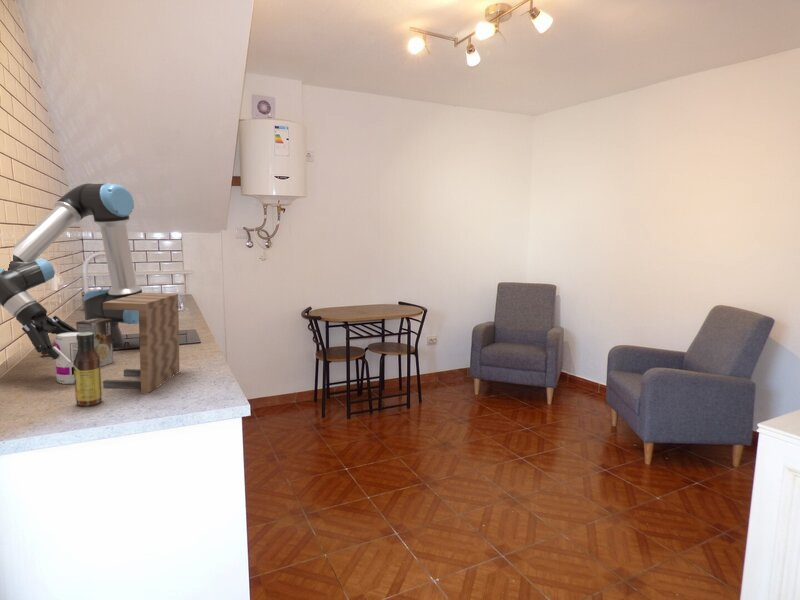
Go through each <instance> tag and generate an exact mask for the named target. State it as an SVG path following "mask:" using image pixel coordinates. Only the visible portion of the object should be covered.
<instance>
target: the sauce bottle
mask: <svg viewBox="0 0 800 600" xmlns="http://www.w3.org/2000/svg"><path fill="white" fill-rule="evenodd" d="M93 339H94V333H92V332H84V333H78V334H77V341H78V351H77V354H76V357H75V360H74V362H73V367H74V382H75V384H74V395H75V401H76V404H77V406H79V405H80V406H82V407H90V406H89V405H92V406H95V405H98V404H100V403H101V402H102V399H103V398H102V396H103V388H102V387H103V384H102V372H101V371H102V370H101V367H100V358H99V355H98V354H97V353H96V351H95V350H94V340H93Z"/></svg>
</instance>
